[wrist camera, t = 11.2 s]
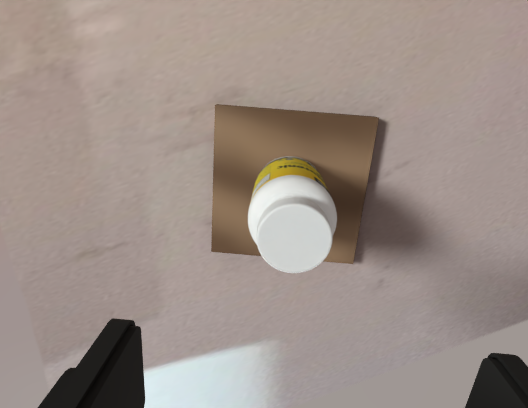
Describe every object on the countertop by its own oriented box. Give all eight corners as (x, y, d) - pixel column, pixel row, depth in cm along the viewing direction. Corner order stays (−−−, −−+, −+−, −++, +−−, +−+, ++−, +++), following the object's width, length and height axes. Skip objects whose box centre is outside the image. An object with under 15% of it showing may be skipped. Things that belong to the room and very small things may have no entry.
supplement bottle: (337, 178, 27) (368, 227, 18) (298, 232, 28) (308, 303, 19) (278, 140, 26) (278, 171, 17) (241, 198, 28) (223, 255, 18)
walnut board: (217, 104, 26) (215, 105, 25) (375, 116, 26) (378, 118, 25) (213, 246, 30) (211, 251, 29) (350, 258, 30) (353, 263, 29)
